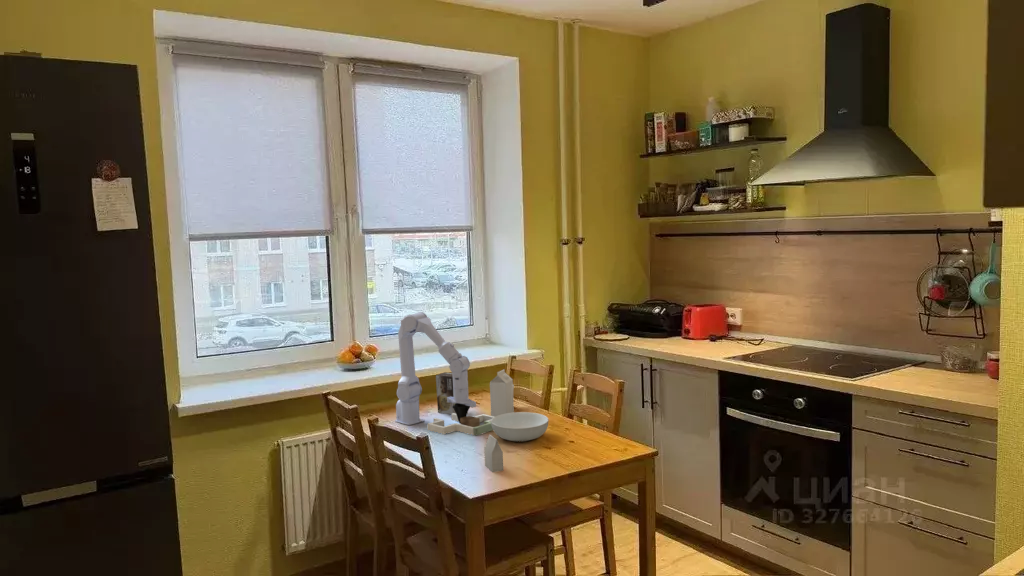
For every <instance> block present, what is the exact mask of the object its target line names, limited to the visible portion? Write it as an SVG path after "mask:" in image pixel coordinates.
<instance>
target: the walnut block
mask: <svg viewBox="0 0 1024 576" xmlns="http://www.w3.org/2000/svg"><path fill="white" fill-rule="evenodd" d="M459 424H462V425H466V426H470V427H477V426H480V419H479V418H477V417H475V416H472V415H467V416H466V417H462V418H460V423H459Z"/></svg>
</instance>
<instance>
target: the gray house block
mask: <svg viewBox="0 0 1024 576" xmlns="http://www.w3.org/2000/svg"><path fill="white" fill-rule="evenodd" d="M483 451H484V466H485V468H486V469H488V470H489V471H490V472H491V473H497V472H502V471H504V453H503V450H502V448H501V446H500V444H499V441H498V439H497V438H495V437H494V436H493V435H491V434H488V438H487V441H486V443H485V445H484V449H483Z"/></svg>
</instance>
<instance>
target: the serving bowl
mask: <svg viewBox="0 0 1024 576" xmlns="http://www.w3.org/2000/svg"><path fill="white" fill-rule="evenodd" d="M549 422H550V421H549V417H548V416H546V415H544V414H542V413H537V412H528V411H519V412H517V411H516V412H515V411H514V413H506V414H502V415H498V416H496V417H494V418H493V419H492V420H491V425H492V428H493V430H492V431H493V432H494V434H495V435H496V436H498V437H499V438H501V439H503V440H507V441H512V442H518V441H519V443H520V441H521V442H527V441H531V440H535V439H538V438H540V437H542V436H543V435H544V434H545V433H546V431H547V429H548V426H549Z"/></svg>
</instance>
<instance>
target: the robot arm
mask: <svg viewBox="0 0 1024 576" xmlns="http://www.w3.org/2000/svg"><path fill="white" fill-rule="evenodd" d="M416 333H422V334H425V335H426V336H427V337H428V338H429V339H430V340H431V341H432V342H433V343H434V344H435V345H436V346H437V347H438V353H439V354H440V355H441V357H442V358H443V359H444V360H445V361H446V363H448V364H449V365H448V368H449V370H450V373H452V376H453V394H454V397H447V402H451V403H455V405H453V409H454V410H455V412H456V415H457V417H458V421H459V422H458V421H457V422H458V424H460V418H462V417H466V416H468V413H469V410H470V408H475V407H477V402H476V401H474V400H472V399H470V398H469V380H468V379H469V377H468V375H469V374H468V369H469V368H470V366H471V365H470V364H471V363H470V360H469V359H468V356H465V355H462V353H461V352H459V350H457V349H456V347H455V344H453V342H451V341H446V340H445V339H444V338H443V337H442V335H441V334H440V332H439V331H438V330H437V328H436V327H435V326H434V324H433V323H432V320H431V319H430V318H429V316H428V315H427V314H426V313H425V312H423V311H419V312H414V313H411V314H406V315H405V316H404V317H402V318H401V319H400V326H399V329H398V331H397V335H398V346H399V347H398V349H399V358H400V359H399V361H400V373H401V374H400V375H401V376H400V378H399V380H398V383H397V388H396V396H397V398H398V400H397V402H396V403H395V411H396V412H395V415H396V416H395V417H396V419H395V420H394V422H396V423H399V424H403V425H407V426H411V425H414V424H415V425H416V424H418V423H423V422H425V419H422V418H421V415H420V395H421V394H422V391H423V388H422V385H421V383H420V378H419V377H418V376H417V375H416V367H415V365H416V364H415V363H416V362H415V354H414V339H413V336H414V335H415V334H416Z"/></svg>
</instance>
